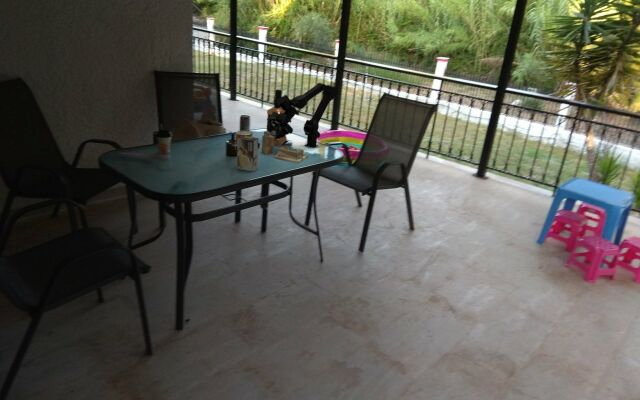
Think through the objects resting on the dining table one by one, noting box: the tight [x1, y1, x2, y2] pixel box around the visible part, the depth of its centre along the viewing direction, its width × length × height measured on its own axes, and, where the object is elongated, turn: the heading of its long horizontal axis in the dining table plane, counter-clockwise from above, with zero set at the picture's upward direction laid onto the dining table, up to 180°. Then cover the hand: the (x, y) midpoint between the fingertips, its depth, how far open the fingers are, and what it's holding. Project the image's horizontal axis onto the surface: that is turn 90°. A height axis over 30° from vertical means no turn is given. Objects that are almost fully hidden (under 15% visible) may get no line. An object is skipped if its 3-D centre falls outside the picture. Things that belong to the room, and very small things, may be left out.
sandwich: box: [272, 145, 309, 164], centre depth 251 cm, size 13×15×5 cm
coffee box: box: [236, 136, 259, 173], centre depth 227 cm, size 9×6×16 cm
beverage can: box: [235, 130, 253, 145], centre depth 249 cm, size 9×9×12 cm
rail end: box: [261, 130, 274, 155], centre depth 254 cm, size 5×4×12 cm
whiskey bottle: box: [266, 89, 288, 147], centre depth 270 cm, size 10×10×32 cm
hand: (270, 136), depth 254 cm, fingers open, 9 cm apart
